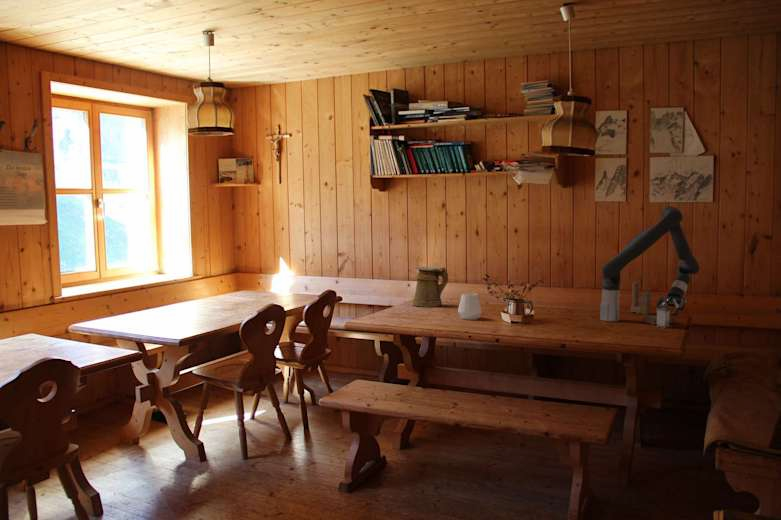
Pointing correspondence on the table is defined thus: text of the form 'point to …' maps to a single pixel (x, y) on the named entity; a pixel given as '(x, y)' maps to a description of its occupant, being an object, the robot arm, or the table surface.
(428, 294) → the tankard
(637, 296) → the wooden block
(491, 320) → the table surface
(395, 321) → the table surface
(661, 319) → the housing
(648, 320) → the stand
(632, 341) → the table surface
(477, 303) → the cup
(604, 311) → the robot arm
